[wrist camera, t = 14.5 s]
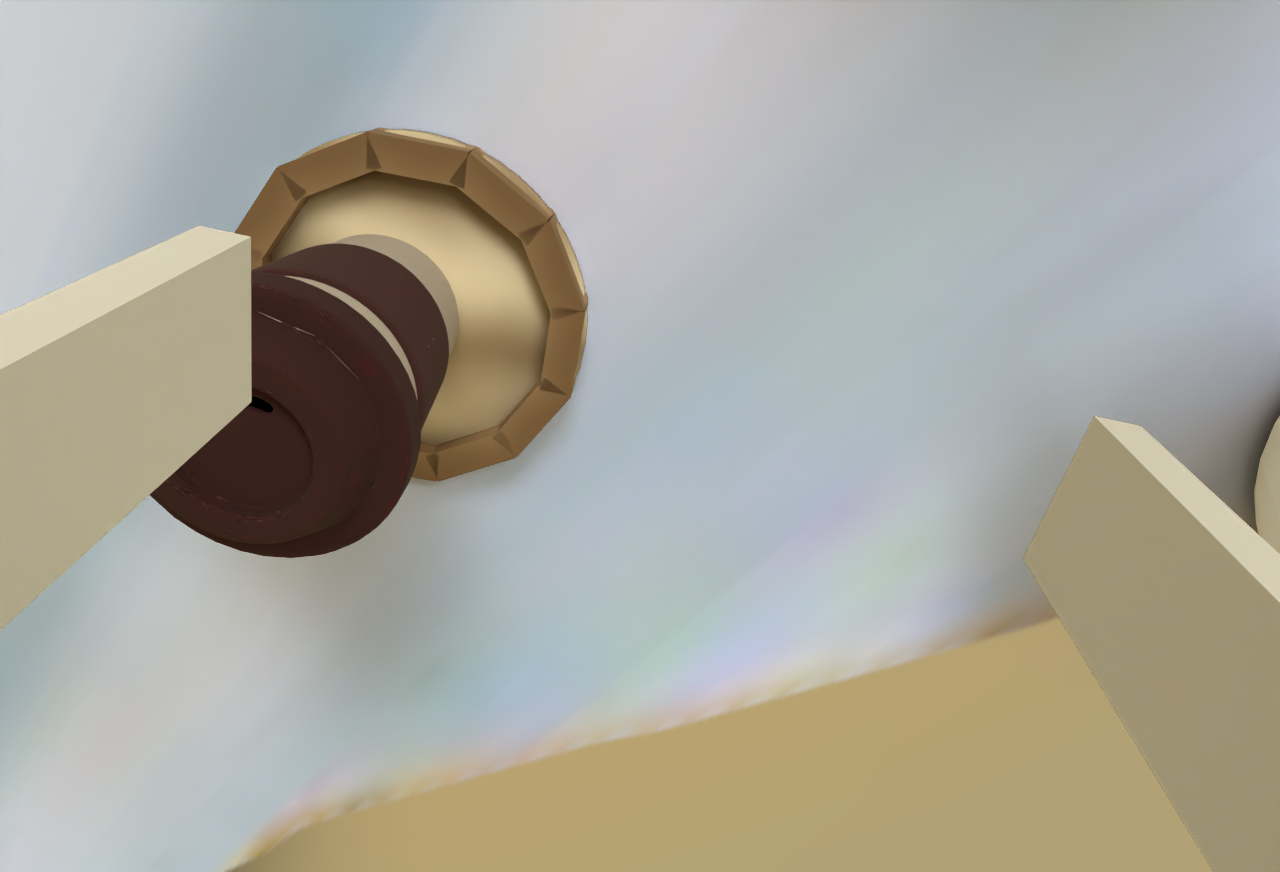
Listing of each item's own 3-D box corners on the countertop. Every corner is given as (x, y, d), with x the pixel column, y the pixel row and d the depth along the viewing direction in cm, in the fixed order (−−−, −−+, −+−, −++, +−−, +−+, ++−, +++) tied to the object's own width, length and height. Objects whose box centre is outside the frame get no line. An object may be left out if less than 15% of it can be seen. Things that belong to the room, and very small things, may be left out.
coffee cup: (403, 444, 43) (279, 636, 29) (236, 309, 40) (14, 453, 27) (533, 309, 40) (461, 454, 26) (360, 152, 37) (180, 224, 23)
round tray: (239, 94, 37) (219, 97, 35) (614, 169, 38) (611, 175, 36) (245, 432, 44) (228, 447, 42) (561, 489, 45) (556, 506, 43)
